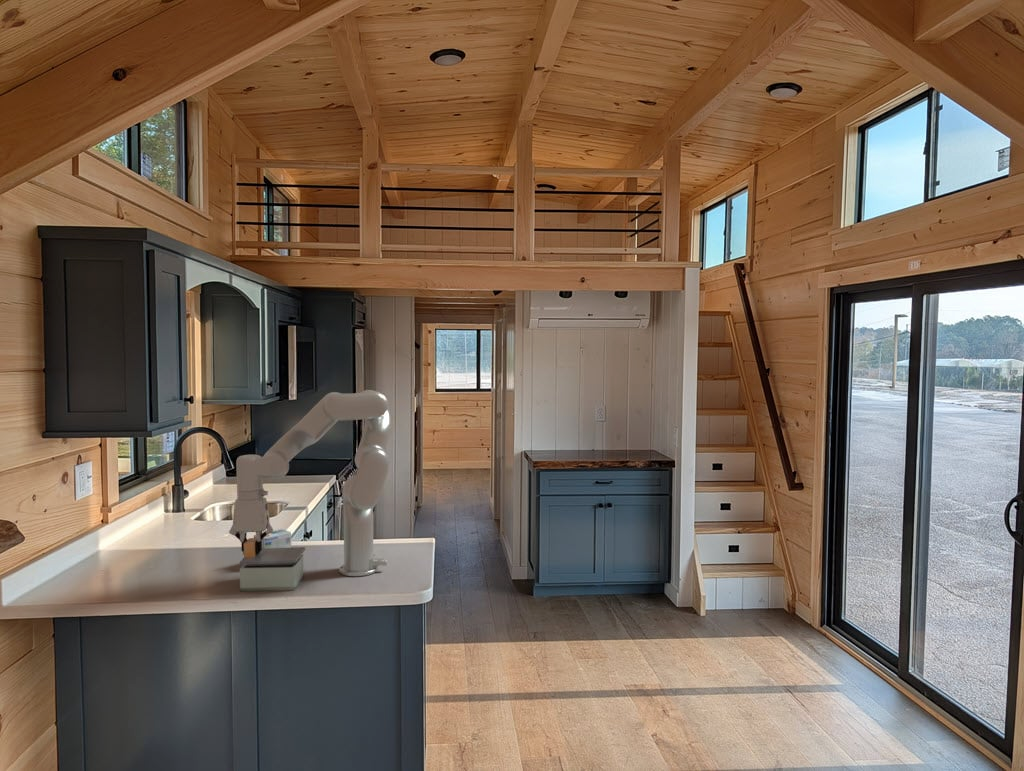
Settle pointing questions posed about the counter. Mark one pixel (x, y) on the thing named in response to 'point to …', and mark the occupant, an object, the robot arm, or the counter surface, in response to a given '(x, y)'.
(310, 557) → the counter surface
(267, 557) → the snap lid
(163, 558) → the counter surface
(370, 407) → the robot arm
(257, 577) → the parts tub
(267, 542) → the light bulb box
